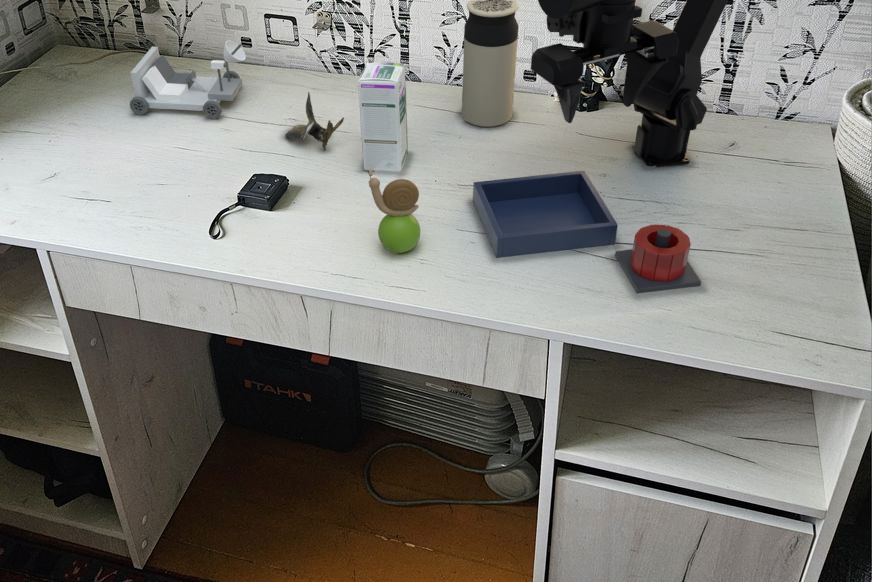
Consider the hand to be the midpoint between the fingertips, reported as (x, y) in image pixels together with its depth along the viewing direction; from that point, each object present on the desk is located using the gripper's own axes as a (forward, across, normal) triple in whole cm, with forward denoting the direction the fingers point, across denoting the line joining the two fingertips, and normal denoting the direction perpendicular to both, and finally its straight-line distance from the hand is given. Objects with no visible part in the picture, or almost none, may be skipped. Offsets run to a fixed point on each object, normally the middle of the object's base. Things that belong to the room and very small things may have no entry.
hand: (597, 113), depth 124 cm
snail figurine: (+12, +30, 0) cm, 32 cm away
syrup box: (+12, +22, -20) cm, 32 cm away
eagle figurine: (+12, +29, -32) cm, 44 cm away
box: (+12, +10, +4) cm, 16 cm away
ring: (+11, +4, +20) cm, 23 cm away
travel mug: (+12, +2, -25) cm, 28 cm away
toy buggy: (+12, +41, -53) cm, 68 cm away
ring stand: (+12, +4, +20) cm, 23 cm away
